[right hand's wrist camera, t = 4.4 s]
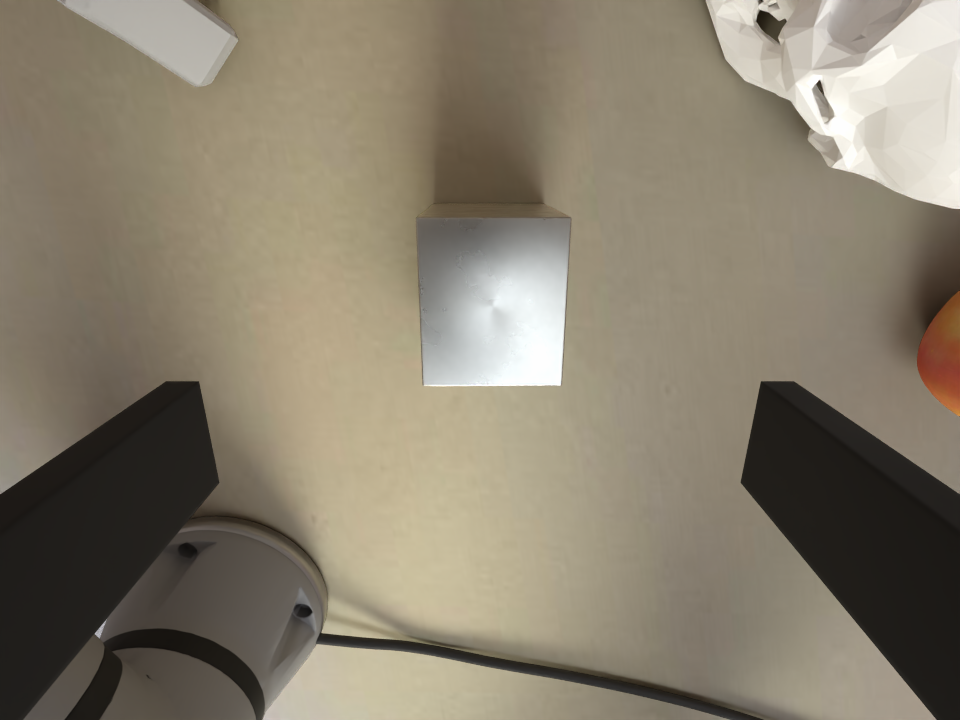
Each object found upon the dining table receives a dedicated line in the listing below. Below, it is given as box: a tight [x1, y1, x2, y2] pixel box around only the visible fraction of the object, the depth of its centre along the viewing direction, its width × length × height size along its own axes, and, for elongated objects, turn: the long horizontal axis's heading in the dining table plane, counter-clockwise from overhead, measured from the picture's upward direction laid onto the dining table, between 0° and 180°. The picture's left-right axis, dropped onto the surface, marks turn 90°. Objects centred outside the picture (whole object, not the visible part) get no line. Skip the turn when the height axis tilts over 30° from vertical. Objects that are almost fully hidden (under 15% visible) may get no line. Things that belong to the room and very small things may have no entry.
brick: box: [416, 203, 571, 386], centre depth 28 cm, size 8×7×10 cm
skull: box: [706, 0, 960, 209], centre depth 21 cm, size 13×22×16 cm, turn 64°
